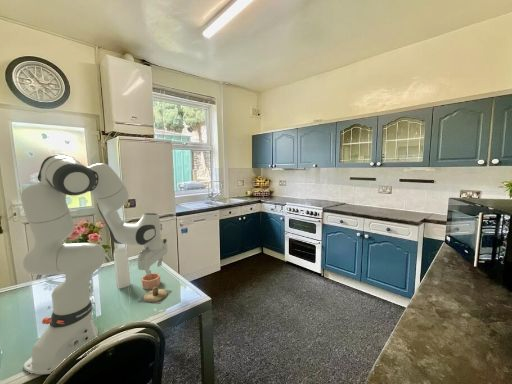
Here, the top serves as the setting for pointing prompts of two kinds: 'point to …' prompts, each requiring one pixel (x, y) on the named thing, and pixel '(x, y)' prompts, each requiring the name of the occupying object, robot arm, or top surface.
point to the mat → (157, 301)
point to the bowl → (150, 281)
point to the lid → (155, 295)
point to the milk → (121, 267)
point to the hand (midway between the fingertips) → (154, 269)
